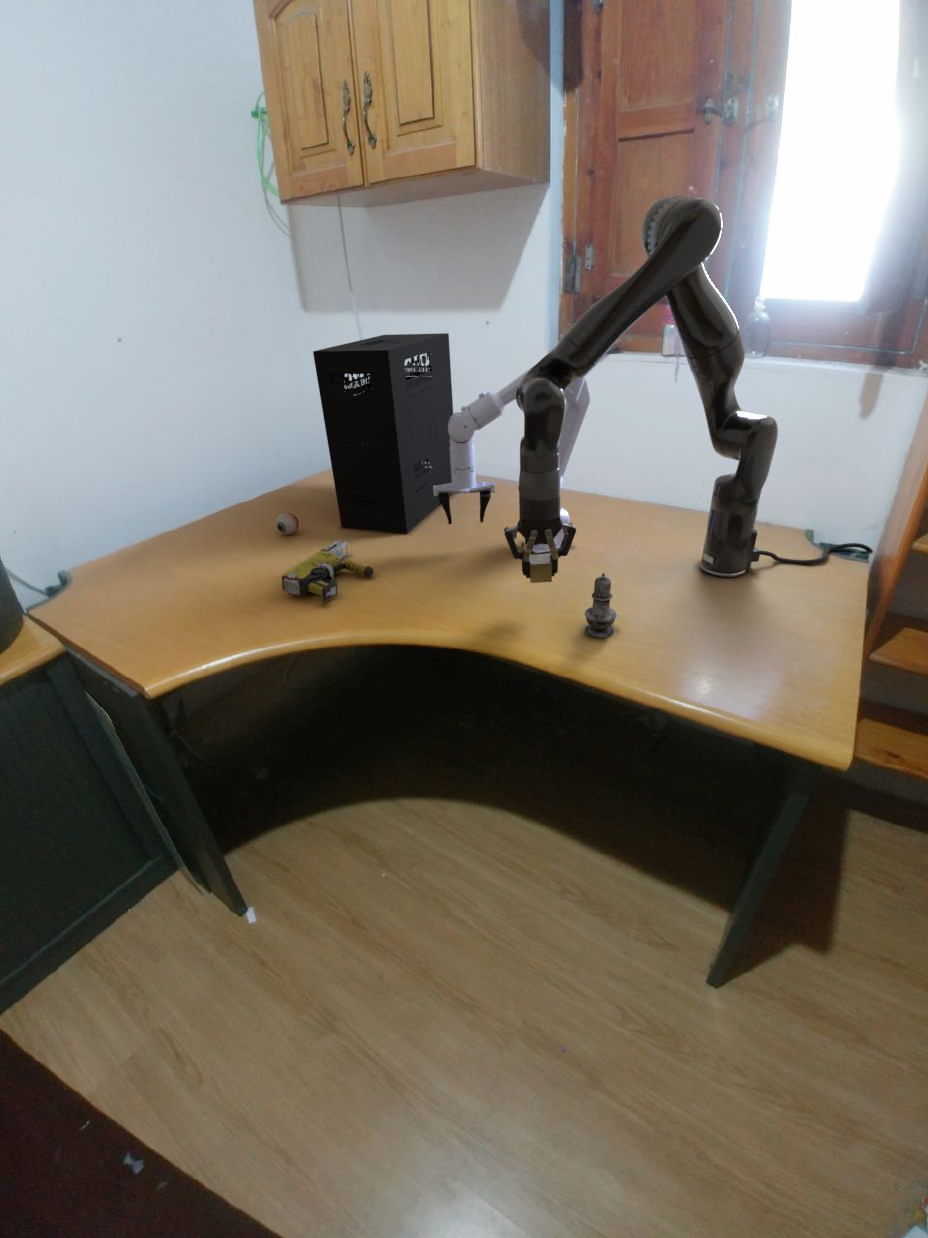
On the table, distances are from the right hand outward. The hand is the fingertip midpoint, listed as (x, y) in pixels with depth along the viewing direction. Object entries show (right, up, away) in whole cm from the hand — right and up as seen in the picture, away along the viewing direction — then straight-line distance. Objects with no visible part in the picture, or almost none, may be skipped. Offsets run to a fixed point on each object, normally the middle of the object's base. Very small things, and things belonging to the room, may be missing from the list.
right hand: (539, 575), depth 119 cm
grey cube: (0, 0, 0) cm, 1 cm away
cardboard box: (-33, +25, +61) cm, 73 cm away
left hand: (-14, +15, +28) cm, 35 cm away
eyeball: (-63, +14, +46) cm, 79 cm away
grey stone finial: (+11, -11, -5) cm, 16 cm away
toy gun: (-44, +1, +20) cm, 48 cm away
